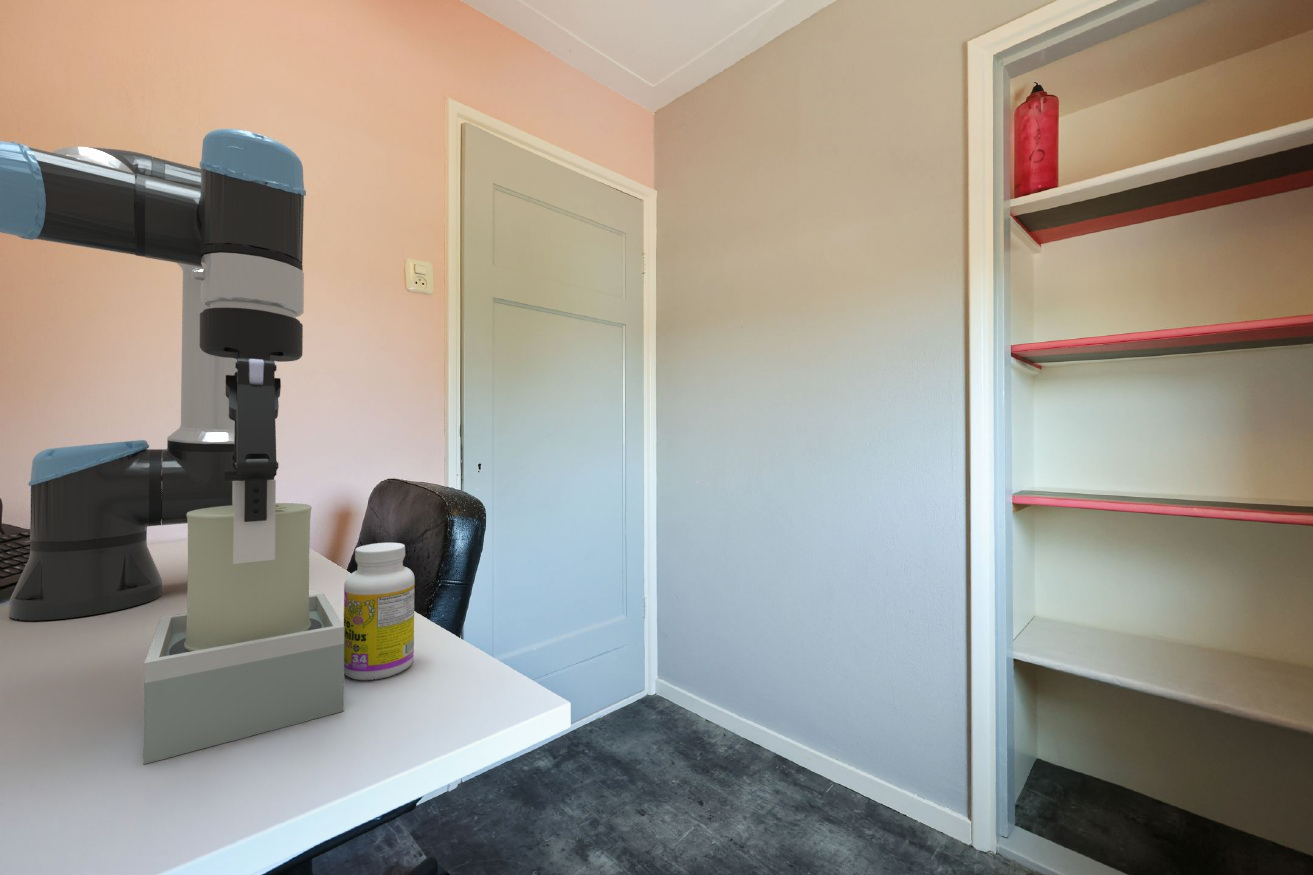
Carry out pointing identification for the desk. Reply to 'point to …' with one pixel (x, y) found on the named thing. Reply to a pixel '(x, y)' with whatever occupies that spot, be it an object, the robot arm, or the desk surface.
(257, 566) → the can
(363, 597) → the supplement bottle
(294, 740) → the desk surface
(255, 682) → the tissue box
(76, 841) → the desk surface
